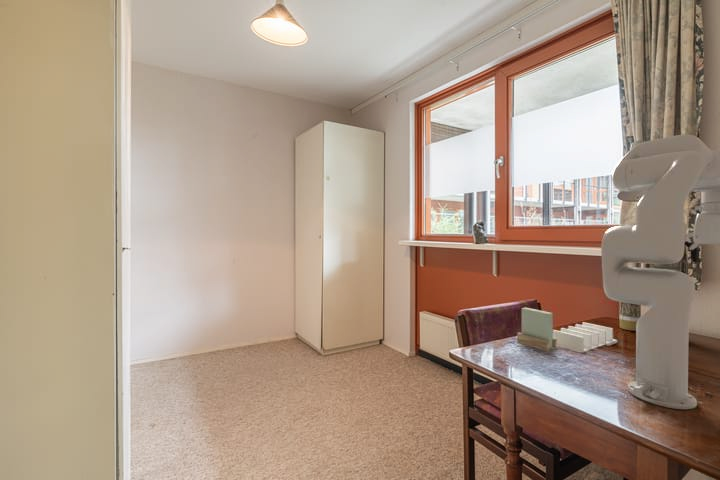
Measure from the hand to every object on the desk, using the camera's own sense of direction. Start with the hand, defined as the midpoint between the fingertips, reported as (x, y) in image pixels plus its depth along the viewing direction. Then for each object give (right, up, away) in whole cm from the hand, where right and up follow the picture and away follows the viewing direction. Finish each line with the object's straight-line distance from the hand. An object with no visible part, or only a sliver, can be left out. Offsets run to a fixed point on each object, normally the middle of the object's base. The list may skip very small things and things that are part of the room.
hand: (717, 263), depth 104 cm
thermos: (+5, -31, +23) cm, 39 cm away
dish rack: (-31, -31, +16) cm, 47 cm away
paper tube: (+1, -30, +35) cm, 46 cm away
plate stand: (-49, -31, +14) cm, 60 cm away
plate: (-49, -30, +14) cm, 59 cm away
